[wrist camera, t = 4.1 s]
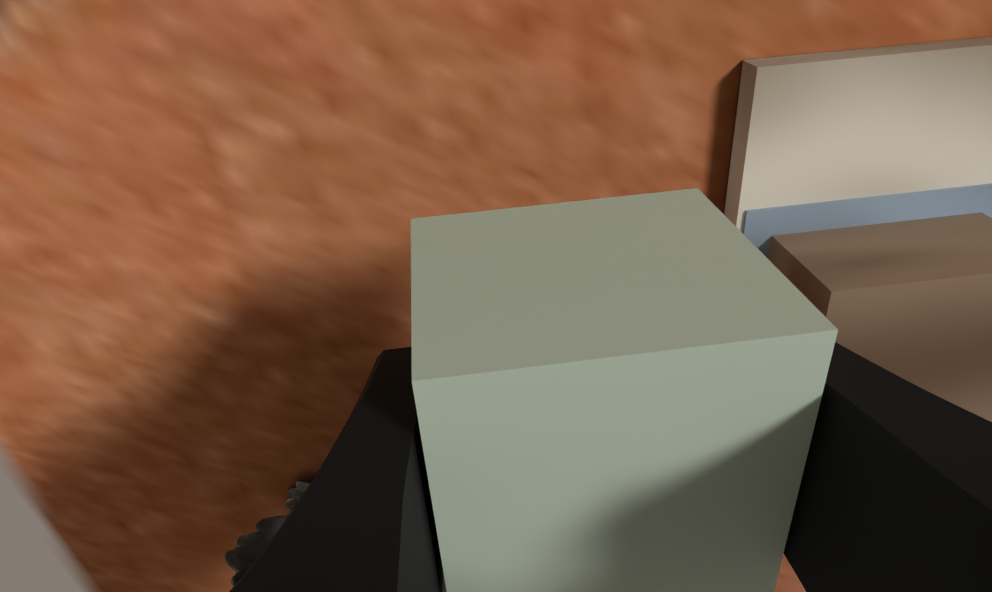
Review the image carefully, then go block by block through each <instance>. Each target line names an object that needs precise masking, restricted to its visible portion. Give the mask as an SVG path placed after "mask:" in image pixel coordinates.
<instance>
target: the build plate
mask: <svg viewBox="0 0 992 592" xmlns="http://www.w3.org/2000/svg"><path fill="white" fill-rule="evenodd" d="M980 212H982V213H984V214H985V215H987V216H989V217H991V218H992V37H982V38H972V39H961V40H951V41H940V42H930V43H919V44H908V45H898V46H887V47H877V48H866V49H856V50H845V51H835V52H824V53H814V54H803V55H793V56H782V57H772V58H761V59H751V60H743V65H742V73H741V81H740V89H739V97H738V106H737V114H736V122H735V130H734V138H733V146H732V154H731V162H730V170H729V179H728V187H727V195H726V203H725V211H724V215H725V216H726V217H727V218H728V219H729V220H730V221H731V222H732V223H733V224H734V225H735V226H736V227H737V228H738V229H739V230H740V231H741V232H742V233H743V234H744V235H745V236H746V237H747V238H748V239H749V240H750V241H751V242H752V243H753V244H754V245H755V246H756V247H757V248H758V249H759V250H760V251H761V252H762V253H763V254H764V255H765V256H766V257H767V258H768V256H769V250H770V244H771V238H772V236H774V235H783V234H792V233H801V232H810V231H819V230H828V229H837V228H846V227H855V226H864V225H872V224H881V223H890V222H899V221H908V220H917V219H926V218H935V217H944V216H953V215H962V214H971V213H980Z"/></svg>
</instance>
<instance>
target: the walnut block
mask: <svg viewBox="0 0 992 592" xmlns="http://www.w3.org/2000/svg"><path fill="white" fill-rule="evenodd" d="M768 259H769V260H770V262H771V263H772V264H773V265H774V266H775V267H776V268H777V269H778V270H779V271H780V272H781V273H782V274H783V275H784V276H785V277H786V278H787V279H788V280H789V281H790V282H791V283H792V284H793V285H794V286H795V287H796V288H797V289H798V290H799V291H800V292H801V293H802V294H803V295H804V296H805V297H806V298H807V299H808V300H809V301H810V302H811V303H812V304H813V305H814V306H815V307H816V308H817V309H818V310H819V311H820V312H821V313H822V314H823V315H824V316H825V317H826V318H827V319H828V320H829V321H830V322H831V323H832V324H833V325H834V326H835V327H836V328H837V329H838V333H837V337H836V341H835V342H836V343H838V344H840V345H842V346H844V347H845V348H847V349H849V350H851V351H853V352H855V353H856V354H858V355H860V356H862V357H864V358H865V359H867V360H869V361H871V362H873V363H875V364H877V365H878V366H880V367H882V368H884V369H886V370H888V371H890V372H892V373H893V374H895V375H897V376H899V377H901V378H903V379H905V380H907V381H909V382H911V383H913V384H915V385H917V386H918V387H920V388H922V389H924V390H926V391H928V392H930V393H932V394H934V395H936V396H938V397H940V398H942V399H945V400H947V401H949V402H951V403H953V404H955V405H957V406H959V407H961V408H963V409H965V410H967V411H969V412H972V413H974V414H976V415H978V416H980V417H982V418H984V419H986V420H988V421H991V422H992V218H991V217H989V216H987V215H985V214H984V213H982V212H980V213H971V214H962V215H953V216H944V217H935V218H926V219H917V220H908V221H899V222H890V223H881V224H872V225H864V226H855V227H846V228H837V229H828V230H819V231H810V232H801V233H792V234H783V235H774V236H772V238H771V244H770V250H769V256H768Z"/></svg>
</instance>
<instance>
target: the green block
mask: <svg viewBox="0 0 992 592" xmlns="http://www.w3.org/2000/svg"><path fill="white" fill-rule="evenodd" d="M837 333H838V329H837V328H836V327H835V326H834V325H833V324H832V323H831V322H830V321H829V320H828V319H827V318H826V317H825V316H824V315H823V314H822V313H821V312H820V311H819V310H818V309H817V308H816V307H815V306H814V305H813V304H812V303H811V302H810V301H809V300H808V299H807V298H806V297H805V296H804V295H803V294H802V293H801V292H800V291H799V290H798V289H797V288H796V287H795V286H794V285H793V284H792V283H791V282H790V281H789V280H788V279H787V278H786V277H785V276H784V275H783V274H782V273H781V272H780V271H779V270H778V269H777V268H776V267H775V266H774V265H773V264H772V263H771V262H770V260H769V259H768V258H767V257H766V256H765V255H764V254H763V253H762V252H761V251H760V250H759V249H758V248H757V247H756V246H755V245H754V244H753V243H752V242H751V241H750V240H749V239H748V238H747V237H746V236H745V235H744V234H743V233H742V232H741V231H740V230H739V229H738V228H737V227H736V226H735V225H734V224H733V223H732V222H731V221H730V220H729V219H728V218H727V217H726V216H725V215H724V214H723V213H722V212H721V211H720V210H719V209H718V208H717V207H716V206H715V205H714V204H713V203H712V202H711V201H710V200H709V199H708V198H707V197H706V196H705V195H704V194H703V193H702V192H701V191H700V190H699V189H698V188H696V189H687V190H677V191H668V192H658V193H649V194H639V195H630V196H621V197H611V198H602V199H592V200H583V201H573V202H564V203H555V204H545V205H536V206H526V207H517V208H507V209H498V210H489V211H479V212H470V213H460V214H451V215H442V216H432V217H423V218H413V219H411V348H412V386H413V392H414V398H415V404H416V410H417V416H418V422H419V428H420V434H421V440H422V446H423V452H424V458H425V464H426V470H427V476H428V482H429V488H430V494H431V500H432V506H433V512H434V518H435V524H436V530H437V536H438V542H439V548H440V554H441V560H442V567H443V573H444V579H445V585H446V591H447V592H774V590H775V586H776V582H777V578H778V574H779V569H780V565H781V561H782V557H783V553H784V549H785V545H786V541H787V537H788V533H789V529H790V525H791V520H792V516H793V512H794V508H795V504H796V500H797V496H798V492H799V488H800V484H801V480H802V476H803V471H804V467H805V463H806V459H807V455H808V451H809V447H810V443H811V439H812V435H813V431H814V427H815V422H816V418H817V414H818V410H819V406H820V402H821V398H822V394H823V390H824V386H825V382H826V378H827V373H828V369H829V365H830V361H831V357H832V353H833V349H834V345H835V341H836V337H837Z"/></svg>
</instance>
